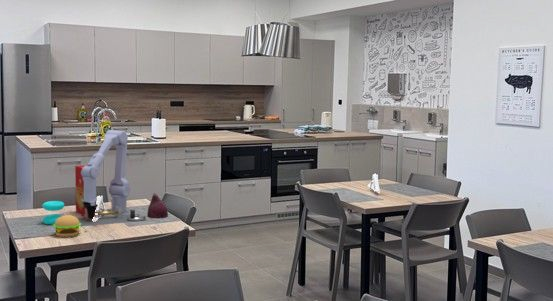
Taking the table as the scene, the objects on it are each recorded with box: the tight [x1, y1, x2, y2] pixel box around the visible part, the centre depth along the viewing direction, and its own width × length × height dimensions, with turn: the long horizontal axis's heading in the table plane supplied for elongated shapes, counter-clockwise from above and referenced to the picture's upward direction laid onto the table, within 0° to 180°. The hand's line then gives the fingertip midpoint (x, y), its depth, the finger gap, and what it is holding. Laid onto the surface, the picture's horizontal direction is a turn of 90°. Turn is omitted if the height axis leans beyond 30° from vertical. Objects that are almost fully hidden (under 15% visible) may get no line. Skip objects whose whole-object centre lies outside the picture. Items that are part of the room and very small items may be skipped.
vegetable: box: [146, 192, 169, 219], centre depth 301 cm, size 10×10×15 cm
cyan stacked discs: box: [41, 200, 65, 226], centre depth 286 cm, size 10×10×10 cm
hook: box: [84, 208, 118, 220], centre depth 294 cm, size 4×16×6 cm, turn 119°
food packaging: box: [74, 165, 97, 218], centre depth 302 cm, size 15×5×25 cm, turn 37°
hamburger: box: [52, 214, 81, 238], centre depth 265 cm, size 12×12×9 cm
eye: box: [114, 205, 123, 219], centre depth 298 cm, size 6×3×6 cm, turn 29°
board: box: [77, 213, 148, 227], centre depth 292 cm, size 17×32×1 cm, turn 119°
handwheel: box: [127, 209, 146, 222], centre depth 294 cm, size 9×9×5 cm
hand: (90, 217), depth 291 cm, fingers closed on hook, 4 cm apart
